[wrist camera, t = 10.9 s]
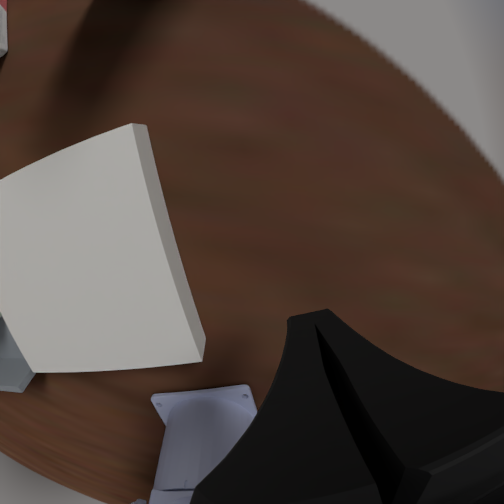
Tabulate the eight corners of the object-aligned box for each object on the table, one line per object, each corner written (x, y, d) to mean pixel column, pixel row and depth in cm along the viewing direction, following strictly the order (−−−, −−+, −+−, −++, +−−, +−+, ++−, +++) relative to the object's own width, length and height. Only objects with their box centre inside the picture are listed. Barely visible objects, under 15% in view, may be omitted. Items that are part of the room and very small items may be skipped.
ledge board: (205, 338, 21) (202, 361, 18) (46, 354, 21) (33, 372, 19) (146, 125, 16) (131, 123, 14) (-18, 195, 17) (-39, 202, 14)
